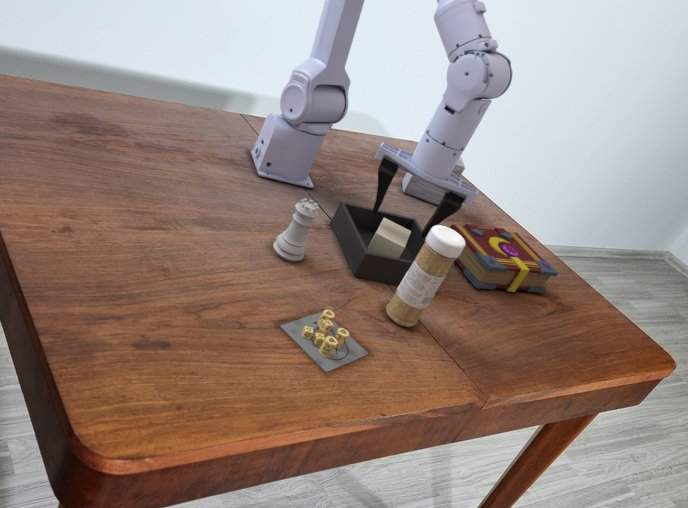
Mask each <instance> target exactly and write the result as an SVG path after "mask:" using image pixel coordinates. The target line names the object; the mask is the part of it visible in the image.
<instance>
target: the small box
mask: <svg viewBox="0 0 688 508" xmlns="http://www.w3.org/2000/svg"><path fill="white" fill-rule="evenodd" d="M410 233H411V231H410V230H408V229H406V228H404V227H402V226H400V225H398V224H396V223H394V222H392V221H390V220H388V219H386V218H383V220H382V222H381V224H380V226H379V227H378V229H377V231H376V233H375V235H374V237H373V239H372V241H371V243H370V245H369V247H368V249H367V250H368V252H372V253H376V254H381V255H386V256H391V257H395V258H399V257H400V255H401V254H402V252H403V250H404V248H405V246H406V243H407V241H408V238H409V236H410Z"/></svg>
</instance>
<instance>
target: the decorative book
mask: <svg viewBox="0 0 688 508" xmlns="http://www.w3.org/2000/svg"><path fill="white" fill-rule="evenodd" d="M449 228H451V229H453V230H454V231H456V232H457V233H459V234H460V235H461V236H462V237H463V239H464V240H465V247H464V249H463V250H462V252H461V254H460V255H459V257H457V259H456V260H454V262H455V263H456V264H457V265H458V266H459V268H460V269H461V270H462V272H463V274H464V276H465V277H466V279H468V280H469V282H470V283H471V284H472V285H473V287H475V288H476V289H482V290H483V289H485V290H495V289H505V290H506V291H507V292H509V293H510V292H512V293H515V292H516V291H517V290H519V291H520V290H521V291H527V292H528V293H530V292H531V293H539V294H541V293H542V294H544V293H545V292H546V291H547V288H546V287H545V286H544V285H545V284H546V283H547V282H548V280H549V279H550V277H557V276H558V275H559V272H558V271H557V270H556V268H555V267H554V266H553V265H551V264H550V262H548V261H547V259H545V258H543V257H541V255H539V253H537V251H535V250H534V249H533V247H531V246H530V244H529V243H528V242H527V241H525V240H524V238H522V237H521V235H520V234H519V233H518V232H514V231H507V230H506V229H505V228H502V227H494V228H493V229H491V228H482V227H478V226H477V225H476V224H471V223H465V224H464V225H459V224H451V225H450V227H449Z"/></svg>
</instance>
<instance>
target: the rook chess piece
mask: <svg viewBox="0 0 688 508" xmlns="http://www.w3.org/2000/svg"><path fill="white" fill-rule="evenodd" d="M313 202H314V200H312V199H309V201H308V198H306V197H303V198H301V199H300V201H299V202H297V203H295V205H294V207H295V213H293V214H292V221H291V222H290V223H289V225H288V226H287V228H286V229H285V230H284V231H282V233H280V234H278V236H276V238H275V241H274V242H273V244H272V246H273V249H274V252H275V254H276V255H277V256H278V257H280V258H281V259H283V260H285V261H288V262H292V263H293V262H299V261H301V260H303V259H304V257H305V254H306V251H307V245H306V244H307V241H306V239H307V234H308V231H309V228H310V227H311V226H312V225H313V223H314V222H313V219H315V218H317V217H319V215H320V214H319V207H320V206H319V204H318V203H317V202H314V203H313Z"/></svg>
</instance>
